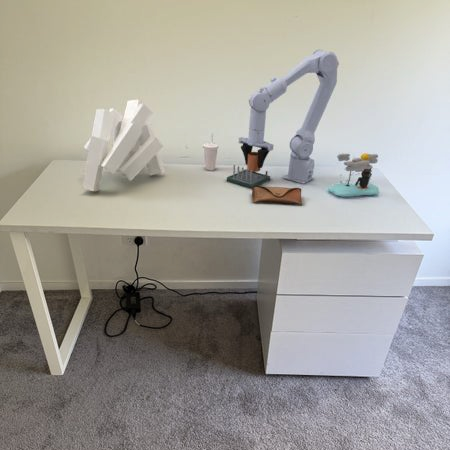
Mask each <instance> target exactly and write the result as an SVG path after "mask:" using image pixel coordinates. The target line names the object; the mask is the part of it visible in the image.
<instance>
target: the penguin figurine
mask: <svg viewBox="0 0 450 450" xmlns="http://www.w3.org/2000/svg"><path fill="white" fill-rule="evenodd" d="M336 157H337V159H338V162H343V161H344V162H343V165H344V166H346V167H345V168H344V169H343V170H345V171H346V172H349V174H348V179H346V182H340V183H336V184H333V185H330V186H328V187H327V191H329V192H330V193H331V194H334V195H336V196H339V197H345V198H348V197H357V196H374V195H377V194H380V190H379V187H378V186H377V185H375V184H373V183H370V180H371V178H372V175H373V173H372V172H373V170H372V169H373V165H372V164H377V163H378V158H379V155H378V154H377V153H376V154H375V153H367V152H365V153H362V154H361V156H360V157H354V158H352V159H350V158H351V154H350V153H338V154H337V156H336ZM354 172H355V173H357V176H359V177H358V178H357V180H356V182H355V183H350V182H351V181H352V180H351V176H353V175H355V173H354ZM339 176H340V177H341V176H342V174H339Z"/></svg>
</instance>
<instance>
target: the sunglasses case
mask: <svg viewBox="0 0 450 450" xmlns="http://www.w3.org/2000/svg"><path fill="white" fill-rule="evenodd" d="M251 190H252V191H251V201H252V203H254V204H257V203H260V204H261V203H263V204H275V205H276V204H277V205H287V206H288V205H289V206H290V205H292V206H293V205H294V206H296V205H301V206H302V205H303V201H302V188H300V187H282V186H264V185H259V186H257V185H256V186H254V187H253V189H251Z"/></svg>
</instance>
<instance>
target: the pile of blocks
mask: <svg viewBox="0 0 450 450" xmlns="http://www.w3.org/2000/svg"><path fill="white" fill-rule="evenodd" d="M153 114H154V113H153V111H152V110H151V109H150V108H149V107H147V106H146V105H145V104H144V103H143V102H142V101H141V100H140V98H139V99H131V100H127V103H126V106H125V110H124V114H123V115H122V114H120V112H119V111H117V110H116V109H115V108H113V107H111V108H110V109H106V108H96V109H95V114H94V120H93V124H92V125H93V126H92V131H91V135H90V137H89V139H88V141H87V142H86V143H85V145H84V146H83V149H84V150H86V151H87V156H86V162H85V167H84V172H83V173H84V174H83V179H82V184H81V189H84V190H87V191H91V192H99V189H100V185H101V180H102V173H103V169H105V170H106V171H107V172H108V173H110V174H112V175H115V174H116V173H121V175H122V176H123V177H124V179H126V180H128V181H132V180H133V179H134V178H135V177H136V176H137V175H138V174H139V173H140V172H141V171H142V169H144V167H145V166H146V168H147V172H148V175H149V176H154V175H158V174H161V173H165V172H166V169H165V166H164V164H163V160H162V157H161V153H160V150H161V149H162V148H163V147H164V146H163V144H162V143H161V142H160V140H159V139H158V137H156V136H155V133H154V132H155V131H154V129H153V126H152V124H147V122H148V120H149V118H150V117H151V116H152V115H153ZM112 134H113V135H112ZM111 135H112V144H111V149H110V150H109V144H110V141H111ZM108 150H109V152H108Z"/></svg>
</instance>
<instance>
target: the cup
mask: <svg viewBox="0 0 450 450" xmlns="http://www.w3.org/2000/svg"><path fill="white" fill-rule="evenodd" d="M246 169H248V171H251V170H252V172H257V173H259V172H260V171H261V169H262V168H258V151H252V152H249V153H248V159H247V165H246Z"/></svg>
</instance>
